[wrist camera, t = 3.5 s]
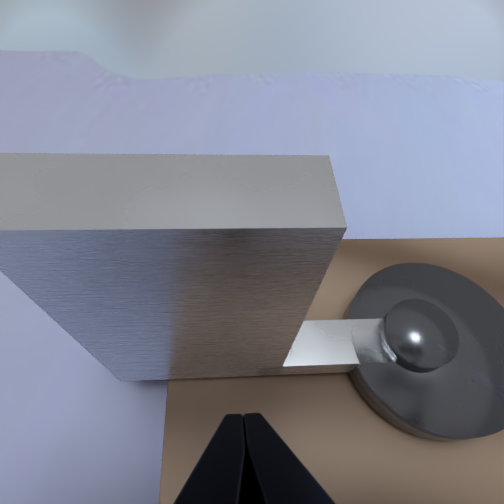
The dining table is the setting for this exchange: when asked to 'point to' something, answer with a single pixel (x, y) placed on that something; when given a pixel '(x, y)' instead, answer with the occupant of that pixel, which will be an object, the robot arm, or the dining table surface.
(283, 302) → the lever
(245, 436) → the robot arm
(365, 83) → the dining table surface
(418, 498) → the walnut stand plate
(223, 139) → the dining table surface
